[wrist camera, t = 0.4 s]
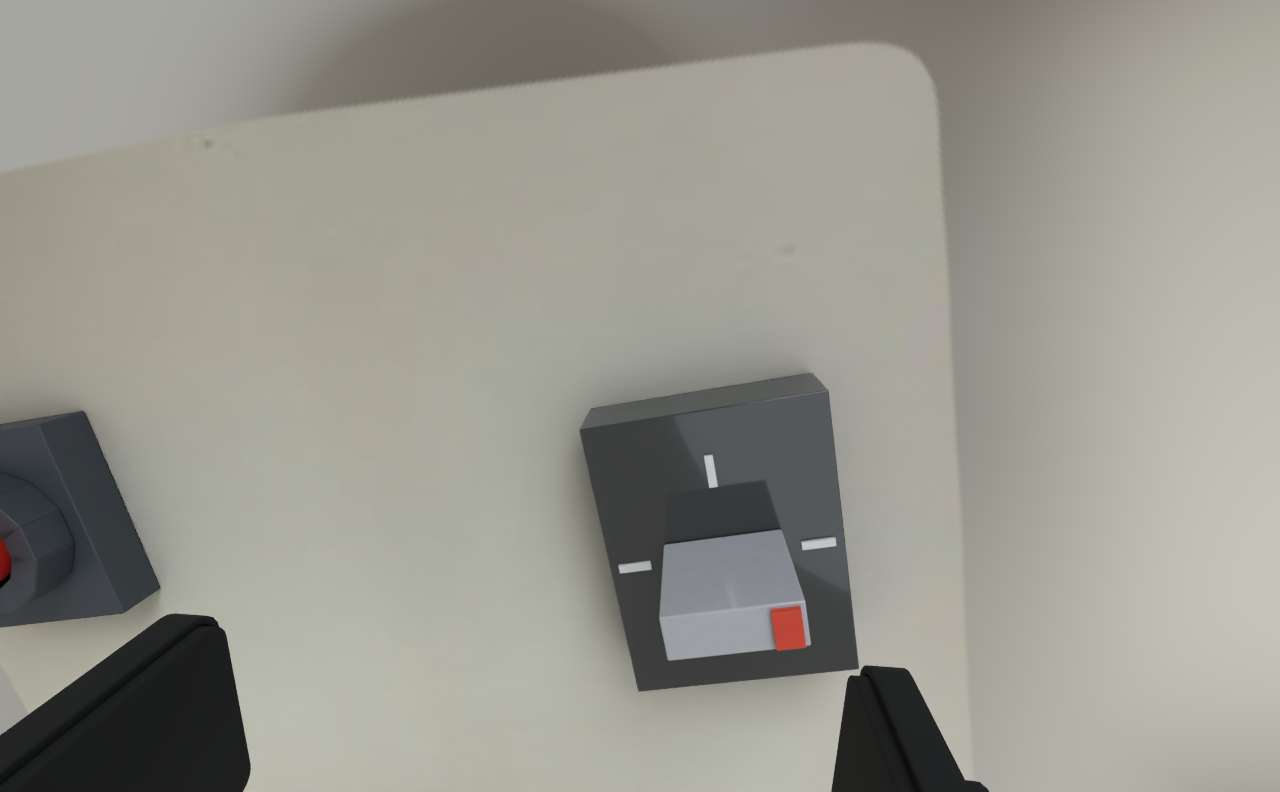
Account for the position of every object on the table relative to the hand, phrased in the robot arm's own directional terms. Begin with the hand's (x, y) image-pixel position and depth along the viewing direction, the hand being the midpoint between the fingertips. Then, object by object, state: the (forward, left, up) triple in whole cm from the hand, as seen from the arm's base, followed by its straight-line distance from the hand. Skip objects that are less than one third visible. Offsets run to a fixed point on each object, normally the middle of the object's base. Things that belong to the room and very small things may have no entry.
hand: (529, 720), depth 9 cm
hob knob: (+7, 0, -15) cm, 17 cm away
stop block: (-12, -29, -19) cm, 36 cm away
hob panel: (+7, 0, -19) cm, 20 cm away
